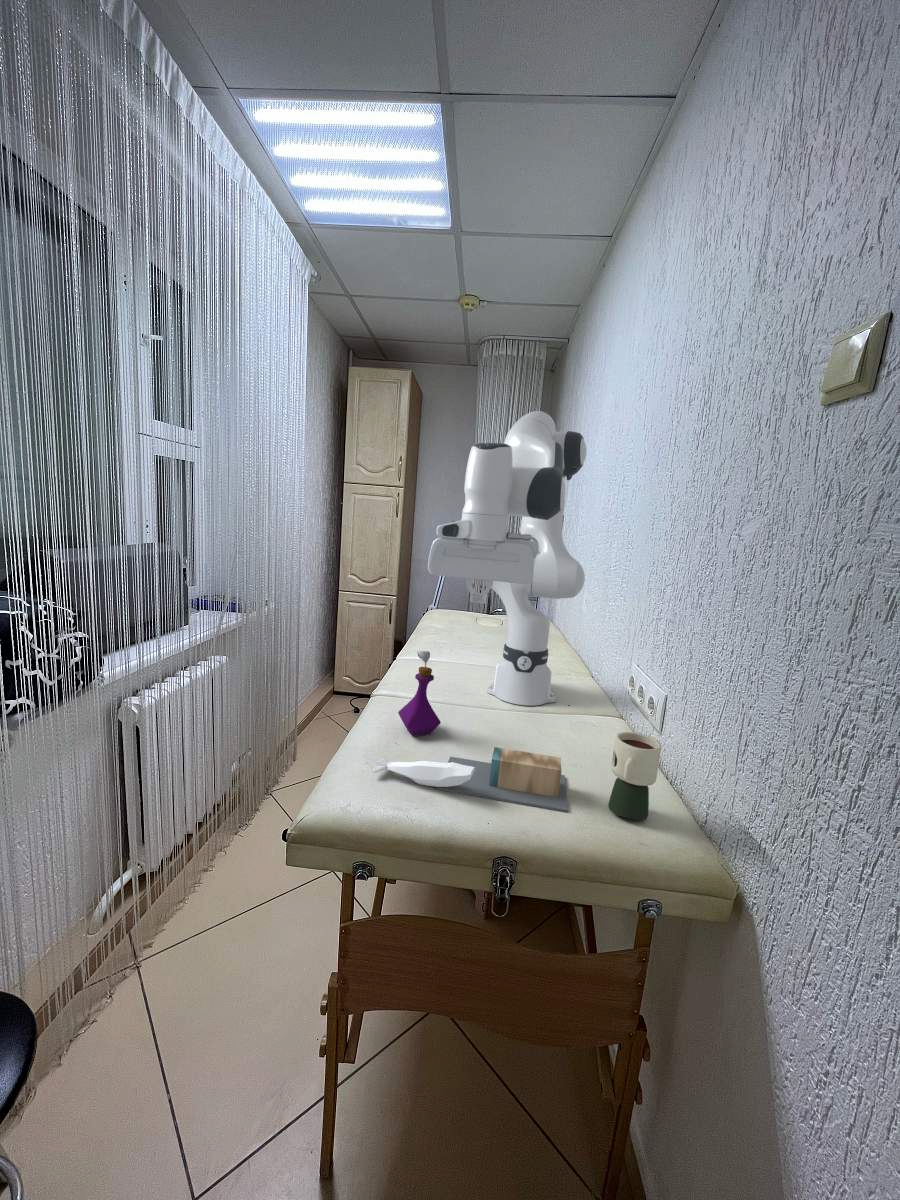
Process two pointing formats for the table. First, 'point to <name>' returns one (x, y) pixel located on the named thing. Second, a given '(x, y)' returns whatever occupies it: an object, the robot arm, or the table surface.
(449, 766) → the white fish figurine
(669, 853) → the table surface
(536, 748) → the table surface
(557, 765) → the oak block
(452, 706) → the table surface
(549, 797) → the rubber mat
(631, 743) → the character mug
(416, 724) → the perfume bottle
